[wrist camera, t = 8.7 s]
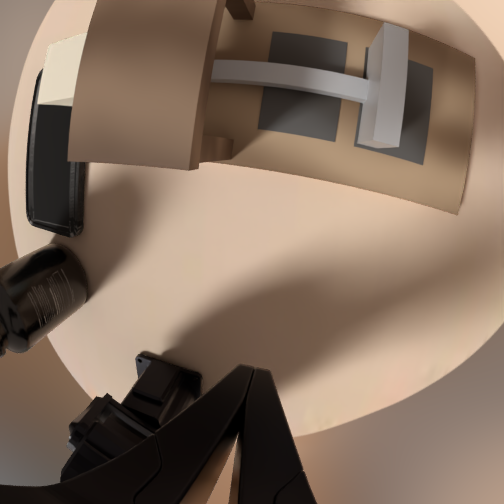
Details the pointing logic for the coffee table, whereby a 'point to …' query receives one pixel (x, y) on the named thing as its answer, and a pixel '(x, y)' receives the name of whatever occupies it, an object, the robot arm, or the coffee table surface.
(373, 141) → the grey flanged bar
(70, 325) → the coffee table surface
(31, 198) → the phone
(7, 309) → the supplement bottle
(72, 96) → the cream block
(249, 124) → the track bed
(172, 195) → the coffee table surface
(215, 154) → the walnut tunnel
